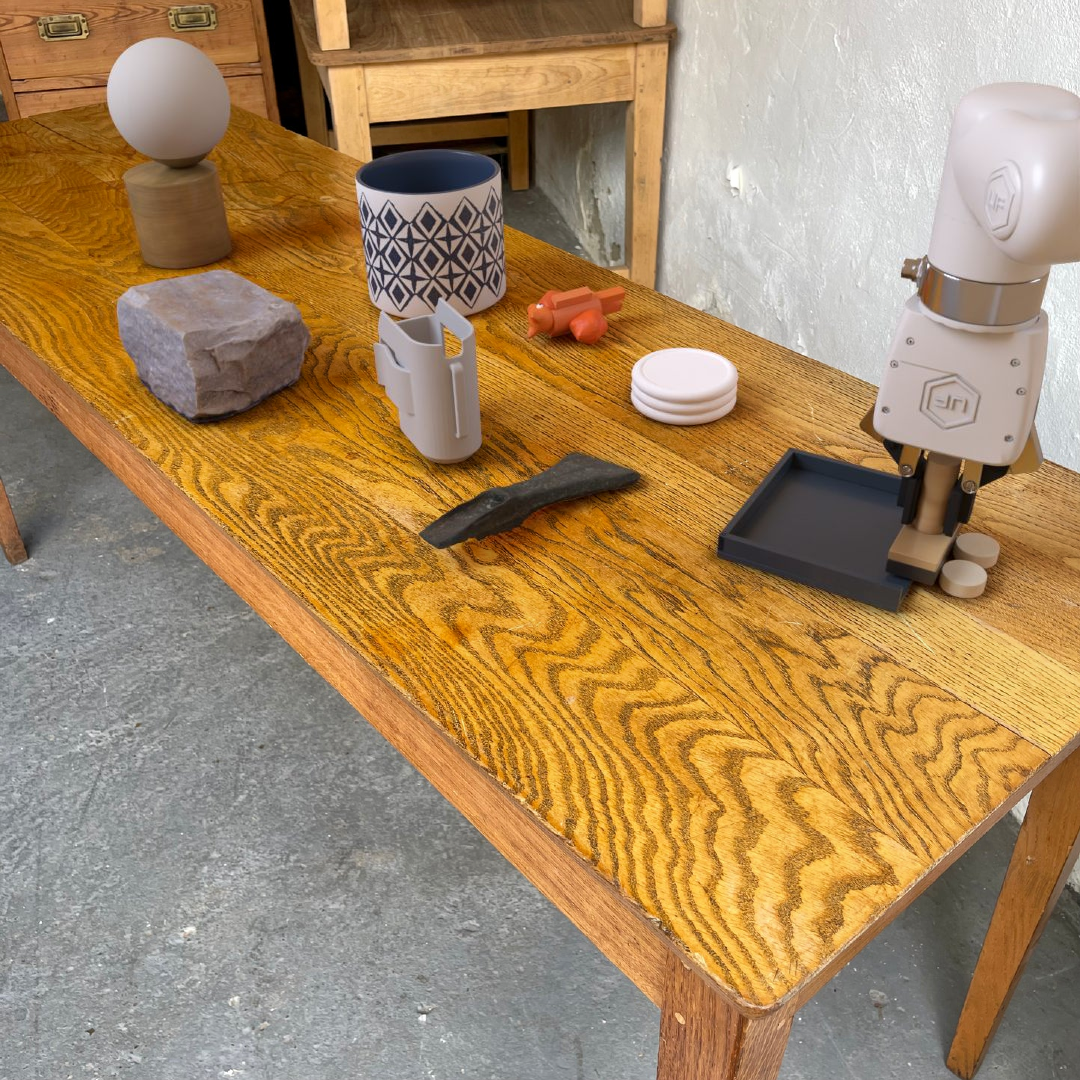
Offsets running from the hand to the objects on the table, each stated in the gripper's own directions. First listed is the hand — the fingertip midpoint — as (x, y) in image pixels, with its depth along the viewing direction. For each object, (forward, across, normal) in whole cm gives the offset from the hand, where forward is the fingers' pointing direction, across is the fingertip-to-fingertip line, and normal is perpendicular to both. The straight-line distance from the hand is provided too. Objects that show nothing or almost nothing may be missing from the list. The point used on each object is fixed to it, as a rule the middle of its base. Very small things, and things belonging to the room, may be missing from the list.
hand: (931, 519), depth 83 cm
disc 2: (+4, +3, -2) cm, 5 cm away
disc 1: (+4, +3, +2) cm, 5 cm away
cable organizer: (+4, -44, -3) cm, 44 cm away
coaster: (+4, -27, +14) cm, 31 cm away
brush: (+3, 0, 0) cm, 3 cm away
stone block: (+4, -69, -4) cm, 69 cm away
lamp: (+4, -100, +22) cm, 102 cm away
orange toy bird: (+4, -43, +22) cm, 48 cm away
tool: (+4, -31, -9) cm, 32 cm away
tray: (+4, -7, 0) cm, 8 cm away
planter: (+4, -63, +24) cm, 67 cm away
